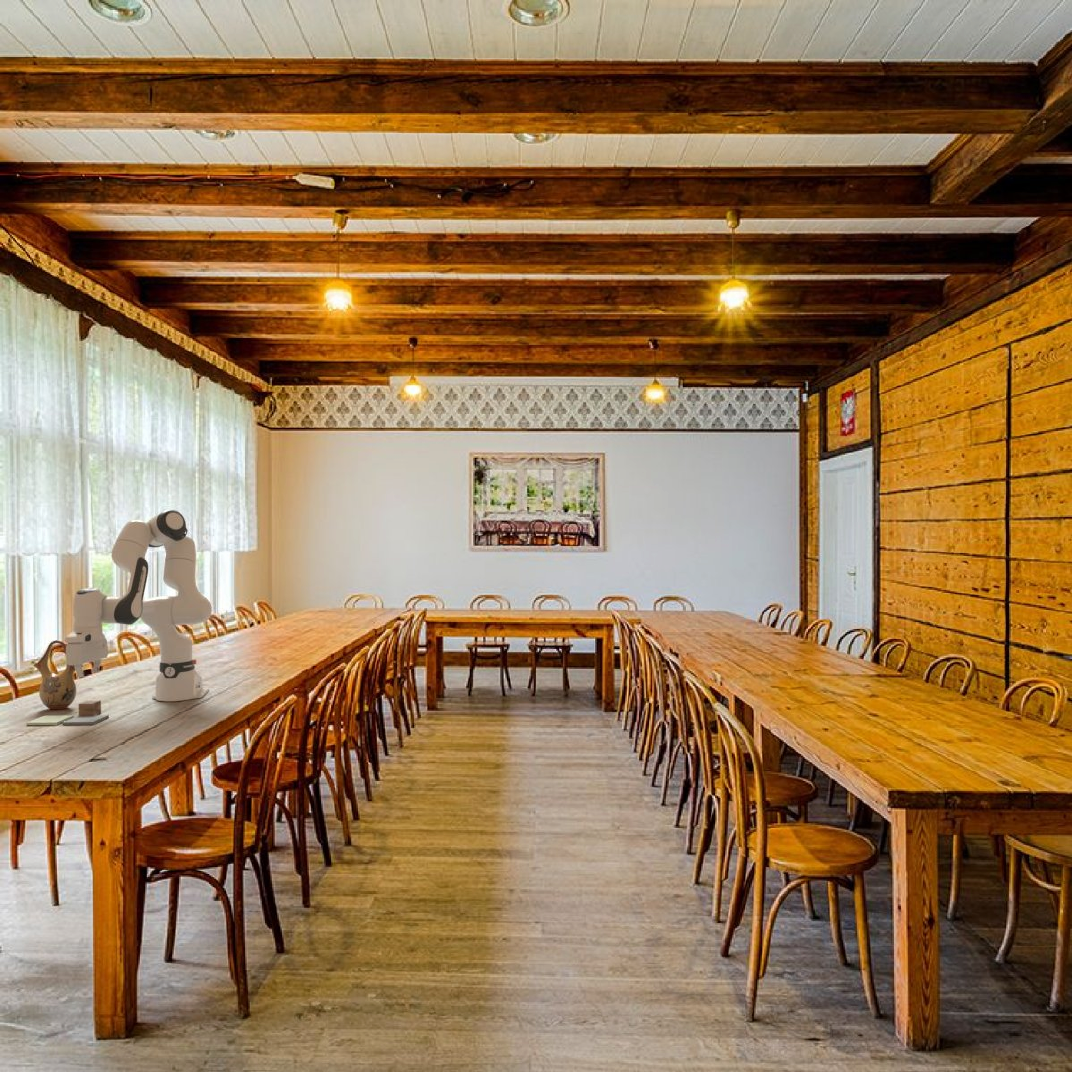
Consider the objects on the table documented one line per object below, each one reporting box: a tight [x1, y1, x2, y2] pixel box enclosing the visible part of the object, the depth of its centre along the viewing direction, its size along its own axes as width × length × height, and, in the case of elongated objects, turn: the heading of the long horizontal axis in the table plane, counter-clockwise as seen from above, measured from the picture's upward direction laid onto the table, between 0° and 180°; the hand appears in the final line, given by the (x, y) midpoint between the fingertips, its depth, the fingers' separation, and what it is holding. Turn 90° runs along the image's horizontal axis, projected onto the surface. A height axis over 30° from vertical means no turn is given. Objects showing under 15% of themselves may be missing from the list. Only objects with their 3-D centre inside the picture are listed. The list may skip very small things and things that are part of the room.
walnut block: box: [78, 699, 102, 716], centre depth 279 cm, size 5×5×5 cm
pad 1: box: [25, 714, 75, 726], centre depth 271 cm, size 10×10×1 cm
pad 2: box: [62, 714, 110, 726], centre depth 271 cm, size 10×10×1 cm
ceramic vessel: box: [33, 639, 77, 710], centre depth 291 cm, size 16×9×25 cm, turn 94°
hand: (88, 674), depth 279 cm, fingers open, 8 cm apart
